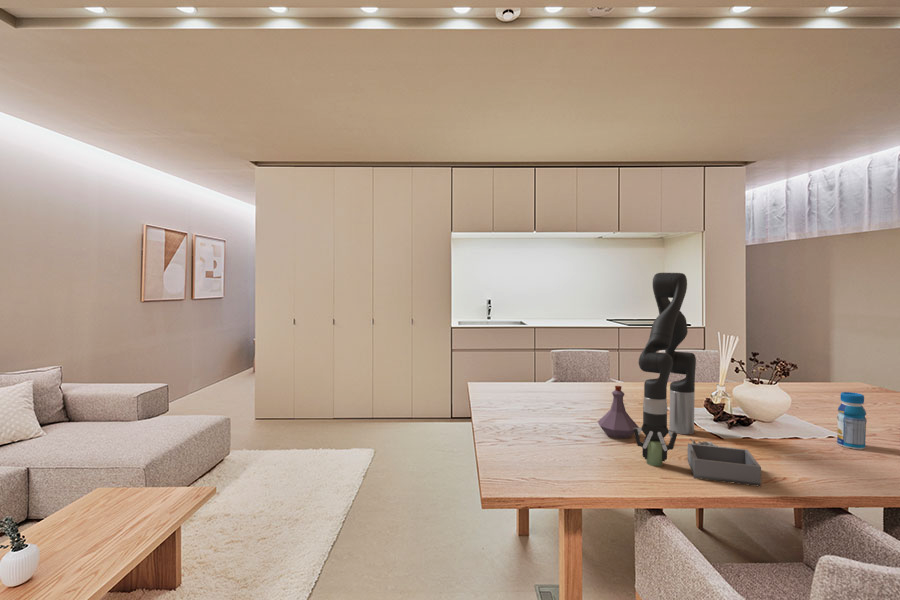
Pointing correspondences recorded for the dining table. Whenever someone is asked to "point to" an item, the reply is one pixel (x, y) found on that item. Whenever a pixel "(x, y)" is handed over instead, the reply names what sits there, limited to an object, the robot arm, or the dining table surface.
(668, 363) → the robot arm
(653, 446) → the green capsule
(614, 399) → the flask
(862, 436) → the beverage bottle
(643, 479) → the dining table surface
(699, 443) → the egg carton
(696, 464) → the bin
